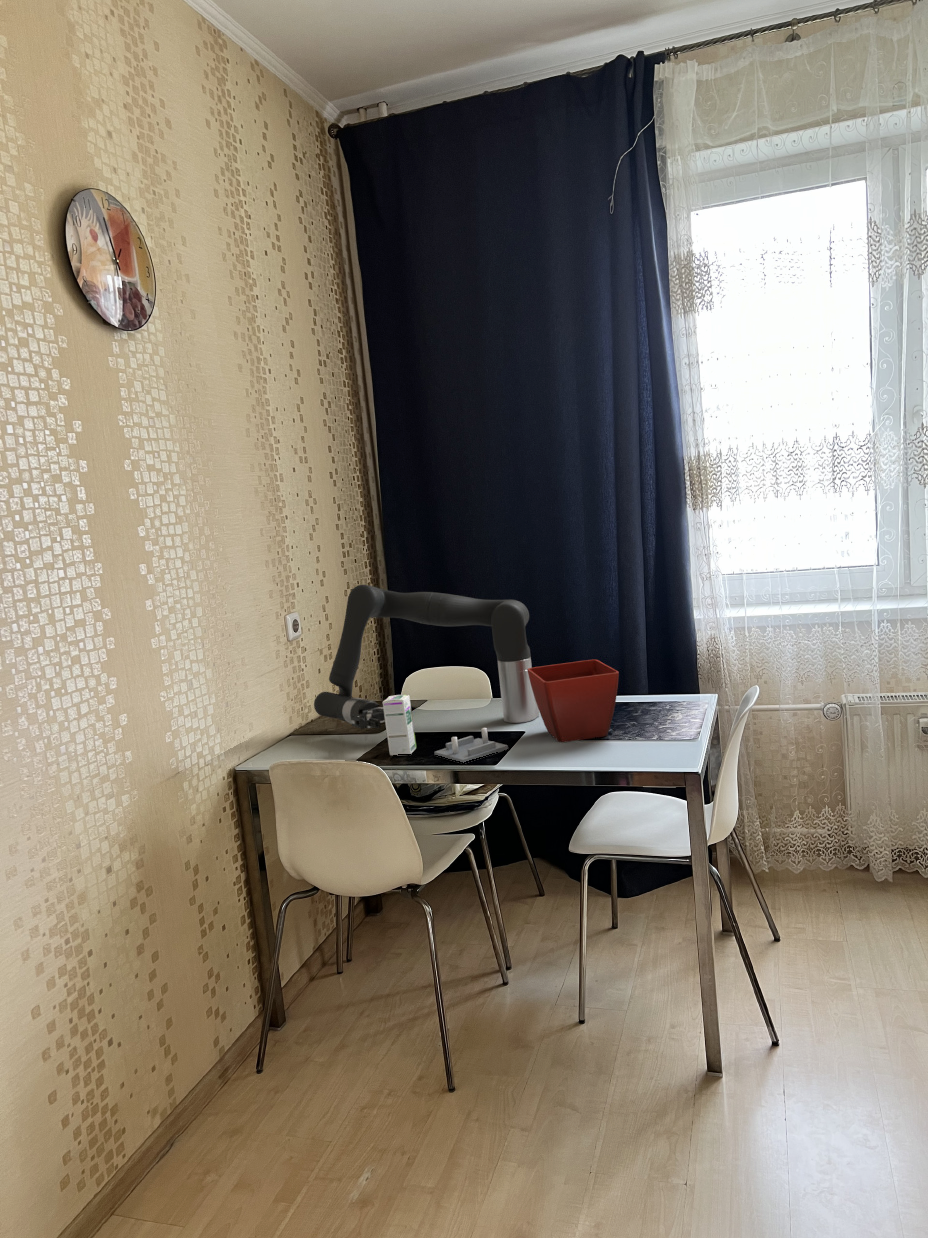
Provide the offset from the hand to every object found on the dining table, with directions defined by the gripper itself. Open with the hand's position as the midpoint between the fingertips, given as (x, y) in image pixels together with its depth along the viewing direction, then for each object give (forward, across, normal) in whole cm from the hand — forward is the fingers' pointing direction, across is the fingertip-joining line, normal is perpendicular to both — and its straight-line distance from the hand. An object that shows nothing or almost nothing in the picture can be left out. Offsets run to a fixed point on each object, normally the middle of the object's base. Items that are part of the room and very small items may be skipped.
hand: (393, 720), depth 234 cm
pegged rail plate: (+19, +10, +8) cm, 23 cm away
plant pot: (+30, +36, +8) cm, 47 cm away
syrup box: (+3, 0, +8) cm, 9 cm away
